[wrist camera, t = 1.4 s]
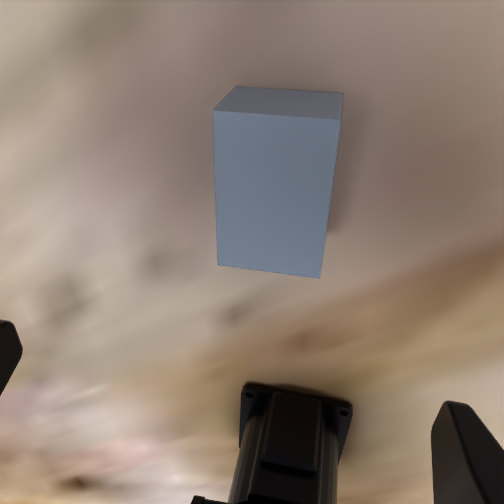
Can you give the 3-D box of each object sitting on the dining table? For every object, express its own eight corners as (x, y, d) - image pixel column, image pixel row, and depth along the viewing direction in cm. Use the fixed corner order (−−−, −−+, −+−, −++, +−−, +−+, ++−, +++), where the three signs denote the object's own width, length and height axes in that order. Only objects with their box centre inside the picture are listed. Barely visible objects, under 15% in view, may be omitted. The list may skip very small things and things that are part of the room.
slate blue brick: (324, 231, 19) (320, 278, 16) (237, 221, 20) (217, 265, 17) (343, 92, 16) (341, 120, 13) (237, 85, 16) (212, 110, 13)
